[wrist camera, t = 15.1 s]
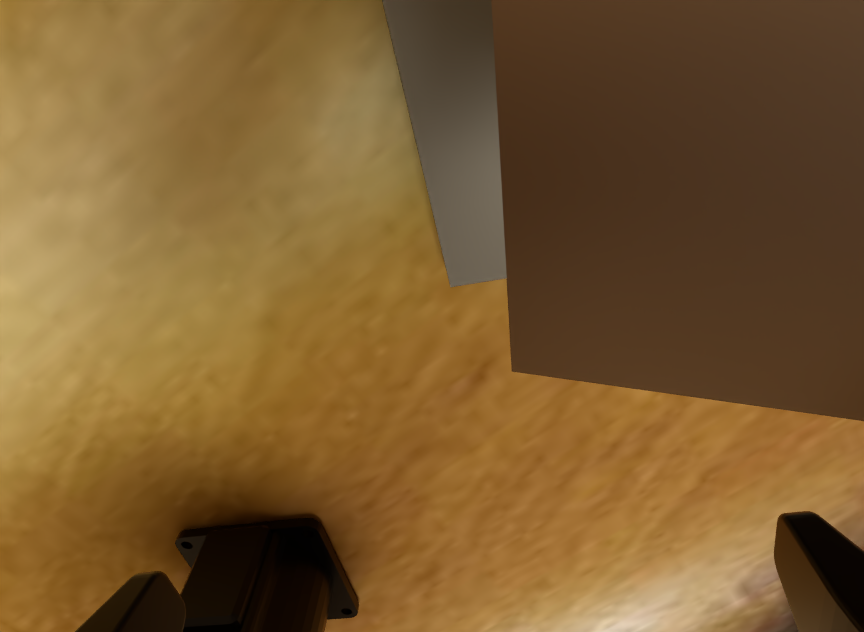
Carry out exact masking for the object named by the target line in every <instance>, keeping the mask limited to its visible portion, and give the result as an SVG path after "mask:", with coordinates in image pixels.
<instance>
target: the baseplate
mask: <svg viewBox="0 0 864 632" xmlns="http://www.w3.org/2000/svg"><path fill="white" fill-rule="evenodd" d="M382 2H383V6H384V10H385V15H386V19H387V23H388V27H389V31H390V35H391V40H392V44H393V48H394V52H395V56H396V61H397V65H398V69H399V73H400V77H401V82H402V86H403V90H404V94H405V98H406V102H407V107H408V111H409V115H410V119H411V123H412V128H413V132H414V136H415V140H416V144H417V149H418V153H419V157H420V161H421V165H422V169H423V174H424V178H425V182H426V186H427V190H428V195H429V199H430V203H431V207H432V211H433V216H434V220H435V224H436V228H437V232H438V236H439V241H440V245H441V249H442V253H443V257H444V262H445V266H446V270H447V274H448V278H449V283H450V287H455V286H461V285H467V284H474V283H480V282H486V281H492V280H498V279H505V278H507V274H506V256H505V238H504V220H503V202H502V184H501V166H500V148H499V130H498V112H497V93H496V75H495V57H494V39H493V21H492V3H491V0H382Z"/></svg>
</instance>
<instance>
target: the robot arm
mask: <svg viewBox="0 0 864 632" xmlns="http://www.w3.org/2000/svg"><path fill="white" fill-rule="evenodd" d="M175 544H176V547H177V548H178V550H179V551H180V552H181V554H182V555H183V557H184V558H185V560H186V561H187V563H188V564H189V566H190V567H191V571H190V573H189V576H188V578H187V580H186V582H185V585H184V587H183V589H182V591H181V594H179V593H178V591H177V590H176V589H175V587H174V586H173V584H172V583H171V581H170V580H169V578H168V577H167V576H166V574H165V573H163V572H161V571H154V572H143V573H138V574H136V575H134V576H133V577H131V578H130V579H129V580H128V581H127V582H126V583H125V584H124V585H123V586H122V587H121V588H120V589H119V590H118V591H117V592H116V593H115V594H114V595H112V596H111V597H110V598H109V599H108V600H107V601H106V602H105V603H104V604H103V605H102V606H101V607H100V608H99V609H98V610H97V611H96V612H95V613H94V614H93V615H92V616H91V617H90V618H89V619H88V620H87V621H86V622H85V623H84V624H82V625H81V626H80V627H79V628H78V629H77V630H76V631H75V632H324V630H325V625H326V621H327V619H341V618H352V617H355V616H356V615H357V613H358V608H359V602H358V600H357V598H356V596H355V594H354V592H353V590H352V588H351V586H350V584H349V582H348V579H347V577H346V575H345V573H344V571H343V569H342V567H341V565H340V563H339V561H338V558H337V556H336V554H335V552H334V550H333V548H332V546H331V544H330V542H329V540H328V537H327V535H326V533H325V531H324V529H323V527H322V525H321V524H320V522H318V521H317V520H315V519H312V518H302V519H292V520H281V521H271V522H261V523H251V524H241V525H231V526H220V527H210V528H200V529H190V530H183V531H181V532H180V533H179V535H178V537H177V539H176V542H175ZM774 560H775V565H776V569H777V572H778V575H779V578H780V580H781V583H782V586H783V589H784V592H785V594H786V597H787V600H788V603H789V606H790V609H791V611H792V614H793V617H794V620H795V623H796V625H797V628H798V631H799V632H864V551H863V550H862V549H860V548H859V547H858V546H857V545H855V544H854V543H853V542H852V541H850V540H849V539H848V538H847V537H845V536H844V535H843V534H842V533H840V532H839V531H838V530H836V529H835V528H834V527H833V526H831V525H830V524H829V523H828V522H826V521H825V520H824V519H823V518H821V517H820V516H819V515H817V514H815V513H813V512H810V511H803V512H792V513H784V514H781V515H780V516H779V517H778V521H777V528H776V538H775V547H774Z"/></svg>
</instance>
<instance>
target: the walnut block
mask: <svg viewBox="0 0 864 632" xmlns="http://www.w3.org/2000/svg"><path fill="white" fill-rule="evenodd" d="M491 3H492V21H493V39H494V57H495V75H496V93H497V112H498V130H499V148H500V166H501V184H502V202H503V220H504V238H505V256H506V274H507V292H508V310H509V328H510V346H511V365H512V371H513V372H520V373H527V374H534V375H541V376H548V377H555V378H562V379H570V380H577V381H584V382H591V383H598V384H605V385H612V386H619V387H626V388H633V389H641V390H648V391H655V392H662V393H669V394H676V395H683V396H690V397H697V398H704V399H712V400H719V401H726V402H733V403H740V404H747V405H754V406H761V407H768V408H775V409H783V410H790V411H797V412H804V413H811V414H818V415H825V416H832V417H839V418H846V419H853V420H861V421H864V0H491Z"/></svg>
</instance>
